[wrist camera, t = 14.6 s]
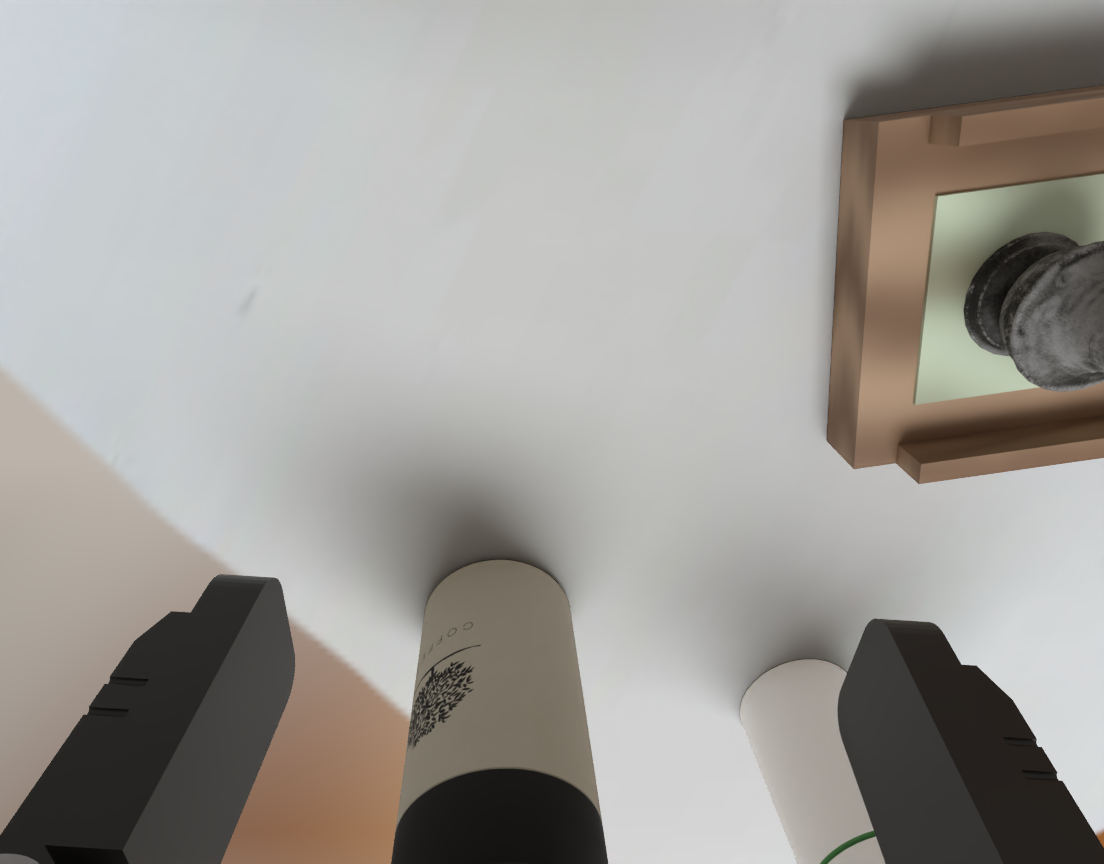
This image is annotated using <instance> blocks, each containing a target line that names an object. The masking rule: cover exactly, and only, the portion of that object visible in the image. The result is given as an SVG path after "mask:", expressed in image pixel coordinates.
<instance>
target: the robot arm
mask: <svg viewBox="0 0 1104 864" xmlns="http://www.w3.org/2000/svg"><path fill="white" fill-rule="evenodd" d="M294 671H295V654H294V648H293V643H292V638H291V632H290V627H289V622H288V617H287V611H286V606H285V601H284V596H283V590H282V586H281V584H280V582H279V580H278V579H277V578H270V577H254V576H239V575H224V574H221V575H217V576H216V577H214V578H213V580H212V581H211V582H210V583H209V585H208V586H207V588H206V589H205V591H204V593H203V594H202V596H201V597H200V599H199V601H198V602H197V604H196V605H195V607H194V608H193V610H192V612H191V613H188V612H187V613H186V612H170V613H169V614H168V615H166V616H165V617H164V618H163V619H161V620H160V621H159V622H158V623H156V624H155V625H154V626H153V627H151V628H150V629H149V630H148V631H146V632H145V633H144V634H143V635H141V636H140V637H139V638H138V639H136V640H135V641H134V643H133V644H132V645H131V647H130V648H129V650H128V651H127V653H126V654H125V656H124V657H123V659H122V660H121V661H120V663H119V664H118V666H117V667H116V669H115V670H114V672H113V673H112V674H111V676H110V681H109V683H108V684H104V686H103V687H102V689H101V690H100V692H99V693H98V695H97V696H96V698H95V699H94V701H93V702H92V703H91V705H90V706H89V712H88V714H87V715H83V716H82V718H81V719H80V721H79V722H78V724H77V725H76V726H75V728H74V729H73V731H72V732H71V734H70V736H69V737H68V738H67V740H66V741H65V743H64V744H63V745H62V747H61V748H60V750H59V751H58V753H57V754H56V755H55V757H54V758H53V760H52V761H51V763H50V764H49V766H48V767H47V769H46V770H45V771H44V773H43V774H42V776H41V777H40V779H39V780H38V782H37V783H36V784H35V786H34V787H33V789H32V790H31V792H30V793H29V795H28V796H27V797H26V799H25V800H24V802H23V803H22V805H21V806H20V808H19V809H18V811H17V812H16V813H15V815H14V816H13V818H12V819H11V821H10V822H9V824H8V825H7V826H6V828H5V829H4V831H3V832H2V834H1V835H0V864H221V861H222V859H223V856H224V854H225V851H226V849H227V846H228V844H229V842H230V839H231V837H232V834H233V832H234V830H235V827H236V825H237V822H238V820H239V818H240V815H241V813H242V810H243V808H244V806H245V803H246V801H247V798H248V796H249V793H250V791H251V789H252V786H253V784H254V781H255V779H256V777H257V774H258V772H259V769H260V767H261V765H262V762H263V760H264V757H265V755H266V752H267V750H268V748H269V745H270V743H271V740H272V738H273V735H274V733H275V730H276V728H277V726H278V723H279V721H280V718H281V716H282V713H283V711H284V709H285V707H286V704H287V702H288V699H289V696H290V693H291V689H292V684H293V679H294ZM837 711H838V725H839V731H840V735H841V738H842V742H843V745H844V747H845V750H846V753H847V756H848V759H849V762H850V764H851V767H852V770H853V773H854V776H855V778H856V781H857V784H858V787H859V790H860V793H861V795H862V798H863V801H864V804H865V807H866V810H867V812H868V815H869V818H870V821H871V824H872V827H873V829H874V832H875V835H876V838H877V841H878V844H879V846H880V849H881V852H882V855H883V858H884V861H885V863H886V864H1104V848H1103V846H1102V845H1101V843H1100V841H1099V840H1098V838H1097V836H1096V835H1095V833H1094V831H1093V830H1092V828H1091V827H1090V825H1089V823H1088V822H1087V820H1086V819H1085V817H1084V815H1083V814H1082V812H1081V810H1080V809H1079V807H1078V806H1077V804H1076V802H1075V801H1074V799H1073V797H1072V796H1071V794H1070V793H1069V791H1068V789H1067V788H1066V786H1065V784H1064V783H1063V781H1059V780H1058V779H1057V775H1056V774H1057V771H1056V770H1055V768H1054V767H1053V765H1052V763H1051V762H1050V760H1049V758H1048V757H1047V755H1046V754H1045V752H1044V750H1043V749H1042V747H1038V746H1037V744H1036V740H1037V739H1036V737H1035V736H1034V734H1033V732H1032V731H1031V729H1030V728H1029V726H1028V724H1027V723H1026V721H1025V719H1024V718H1023V716H1022V715H1021V713H1020V711H1019V710H1018V708H1017V706H1016V705H1015V703H1014V702H1013V700H1012V699H1011V698H1010V697H1009V696H1008V695H1007V694H1006V693H1005V692H1003V691H1002V690H1001V689H1000V688H999V687H998V686H997V685H996V684H995V683H994V682H993V681H992V680H991V679H990V678H989V677H988V676H987V675H986V674H984V673H983V672H982V671H981V670H980V669H979V668H978V667H977V666H971V665H961V663H960V662H959V660H958V658H957V656H956V655H955V653H954V651H953V649H952V648H951V646H950V644H949V642H948V641H947V639H946V637H945V635H944V634H943V632H942V631H941V630H940V628H939V627H938V626H936V625H935V624H933V623H931V622H917V621H901V620H886V619H873V620H871V621H870V622H869V623H868V624H867V626H866V628H865V630H864V633H863V635H862V638H861V640H860V643H859V645H858V648H857V650H856V653H855V655H854V657H853V660H852V662H851V665H850V667H849V670H848V672H847V675H846V677H845V680H844V682H843V685H842V687H841V690H840V693H839V698H838V709H837Z"/></svg>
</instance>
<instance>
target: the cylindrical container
mask: <svg viewBox="0 0 1104 864" xmlns="http://www.w3.org/2000/svg"><path fill="white" fill-rule="evenodd" d="M846 675H847V673H846V672H845V671H844V670H843V669H841V668H840V667H839V666H837V665H835V664H832V663H830V662H827V661H822V660H817V659H803V660H796V661H791V662H788V663H785V664H781V665H779V666H777V667H775V668H772V669H771V670H769V671H767V672H766V673H764V674H763V675H761V676H760V677H759V678H758V679H757V680H756V681H754V682H753V684H752V685H751V686H750V687H749V688H748V690H747V691H746V693H745V695H744V697H743V699H742V702H741V706H740V718H741V722H742V725H743V727H744V730H745V732H746V735H747V737H748V740H749V742H750V745H751V748H752V750H753V753H754V755H755V758H756V760H757V763H758V765H759V768H760V770H761V773H762V775H763V778H764V780H765V783H766V785H767V788H768V790H769V793H770V795H771V798H772V800H773V803H774V805H775V808H776V811H777V813H778V816H779V818H780V821H781V823H782V826H783V828H784V831H785V833H786V836H787V838H788V841H789V843H790V846H791V848H792V851H793V853H794V856H795V858H796V861H797V863H798V864H886V863H885V861H884V858H883V855H882V852H881V849H880V846H879V844H878V841H877V838H876V835H875V832H874V829H873V827H872V824H871V821H870V818H869V815H868V812H867V810H866V807H865V804H864V801H863V798H862V795H861V793H860V790H859V787H858V784H857V781H856V778H855V776H854V773H853V770H852V767H851V764H850V762H849V759H848V756H847V753H846V750H845V747H844V745H843V742H842V738H841V735H840V731H839V725H838V711H837V709H838V698H839V693H840V690H841V687H842V685H843V682H844V680H845V677H846Z"/></svg>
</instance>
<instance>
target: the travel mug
mask: <svg viewBox="0 0 1104 864" xmlns="http://www.w3.org/2000/svg"><path fill="white" fill-rule="evenodd" d="M391 864H608V859H607V853H606V846H605V839H604V832H603V826H602V819H601V812H600V806H599V799H598V792H597V786H596V779H595V772H594V765H593V759H592V752H591V745H590V739H589V732H588V725H587V719H586V712H585V705H584V698H583V692H582V685H581V678H580V672H579V665H578V658H577V652H576V645H575V638H574V631H573V625H572V618H571V611H570V606H569V602H568V599H567V597H566V595H565V593H564V591H563V590H562V588H561V587H560V586H559V584H558V583H557V582H556V581H555V580H554V579H553V578H552V577H550V576H549V575H548V574H546V573H545V572H543V571H542V570H540V569H538V568H536V567H533V566H531V565H528V564H525V563H522V562H517V561H510V560H489V561H482V562H478V563H474V564H471V565H468V566H465V567H463V568H461V569H459V570H457V571H455V572H454V573H452V574H450V575H449V576H448V577H446V578H445V579H444V580H443V581H442V582H441V583H440V584H439V585H438V586H437V587H436V588H435V590H434V591H433V593H432V594H431V596H430V598H429V600H428V603H427V605H426V609H425V615H424V622H423V630H422V637H421V645H420V652H419V660H418V667H417V675H416V682H415V690H414V697H413V705H412V712H411V720H410V727H409V735H408V742H407V750H406V757H405V765H404V772H403V780H402V788H401V795H400V803H399V810H398V817H397V825H396V832H395V840H394V847H393V855H392V862H391Z"/></svg>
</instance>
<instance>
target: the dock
mask: <svg viewBox="0 0 1104 864" xmlns="http://www.w3.org/2000/svg"><path fill="white" fill-rule="evenodd" d="M1039 232H1051V233H1056V234H1062V235H1064V236H1066V237H1068V238H1070V239H1072V240H1073V241H1075V242H1076V243H1077V244H1078V245H1079V246H1084V245H1088V244H1091V243H1094V242H1099V241H1104V85H1100V86H1092V87H1085V88H1077V89H1070V90H1062V91H1055V92H1048V93H1040V94H1033V95H1025V96H1018V97H1010V98H1003V99H995V100H988V101H981V102H973V103H966V104H958V105H951V106H943V107H936V108H928V109H921V110H914V111H906V112H899V113H891V114H884V115H876V116H869V117H861V118H854V119H847V120H844V126H843V145H842V163H841V182H840V201H839V220H838V239H837V258H836V277H835V296H834V315H833V334H832V353H831V372H830V391H829V410H828V429H827V442H828V443H829V444H830V445H831V446H832V447H833V448H834V449H835V450H836V451H837V452H838V453H839V454H840V455H841V456H842V457H843V458H844V459H845V460H846V461H847V462H848V463H849V465H850V466H851V467H852V468H853V469H858V468H865V467H872V466H879V465H886V464H893V463H896V464H897V465H899V466H900V467H901V468H902V469H903V470H904V471H905V472H906V473H907V474H908V475H910V476H911V477H912V478H913V479H914V480H915V481H916V482H917V483H918V484H922V483H929V482H936V481H943V480H950V479H958V478H965V477H972V476H979V475H986V474H993V473H1000V472H1007V471H1014V470H1021V469H1028V468H1035V467H1042V466H1049V465H1056V464H1063V463H1070V462H1077V461H1084V460H1091V459H1098V458H1104V381H1103V382H1102V383H1099V384H1096V385H1093V386H1091V387H1088V388H1085V389H1082V390H1075V391H1067V392H1058V391H1051V390H1045V389H1043V388H1041V387H1039V386H1037V385H1035V384H1033V383H1030V382H1029V381H1028V380H1027V379H1026V378H1025V377H1024V376H1023V375H1022V374H1021V373H1020V372H1019V371H1018V370H1017V368H1016V365H1015V363H1014V361H1013V359H1012V358H1011V357H1010V356H1002V355H996V354H992V353H990V352H988V351H986V350H984V349H982V348H980V347H979V346H978V345H977V344H976V343H975V342H974V341H973V340H972V339H971V337H970V335H969V333H968V331H967V328H966V326H965V320H964V311H963V310H964V304H965V298H966V294H967V291H968V289H969V286H970V284H971V282H972V279H973V277H974V276H975V275H976V273H977V272H978V270H979V269H980V267H981V266H982V264H983V263H984V262H985V261H986V260H987V259H988V258H989V257H990V256H991V255H992V254H993V253H994V252H995V251H996V250H998V249H999V248H1001V247H1002V246H1004V245H1005V244H1007V243H1009V242H1010V241H1012V240H1014V239H1016V238H1019V237H1022V236H1024V235H1027V234H1030V233H1039Z"/></svg>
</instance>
